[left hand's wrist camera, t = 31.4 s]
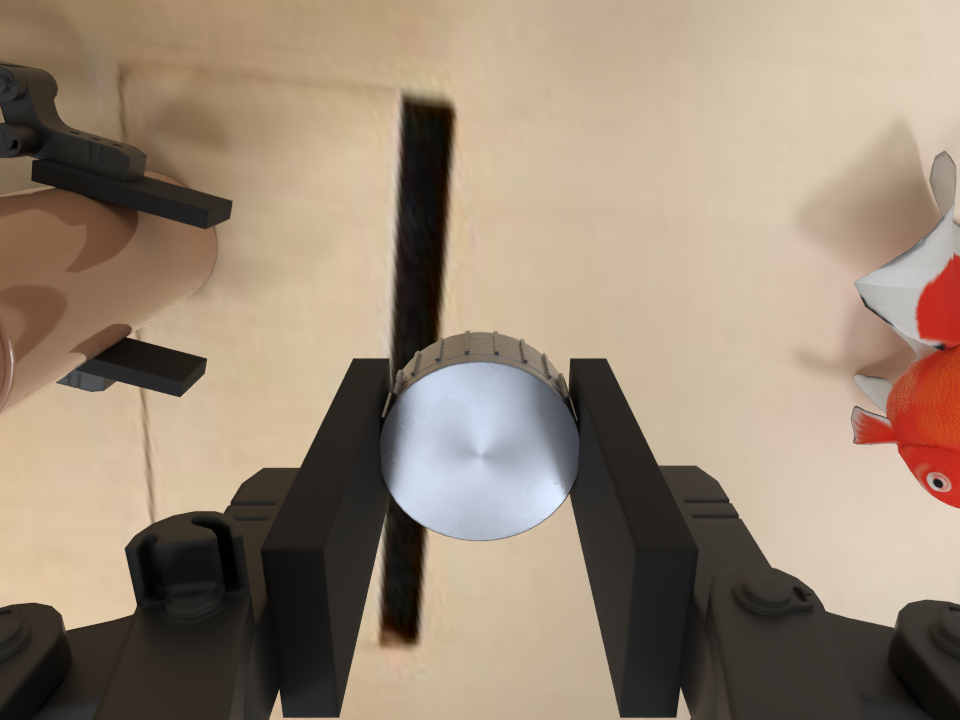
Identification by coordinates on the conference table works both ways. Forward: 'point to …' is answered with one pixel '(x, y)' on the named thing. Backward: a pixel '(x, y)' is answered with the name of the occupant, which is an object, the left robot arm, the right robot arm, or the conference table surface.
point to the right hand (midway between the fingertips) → (205, 299)
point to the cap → (479, 437)
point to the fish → (921, 350)
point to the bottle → (84, 280)
